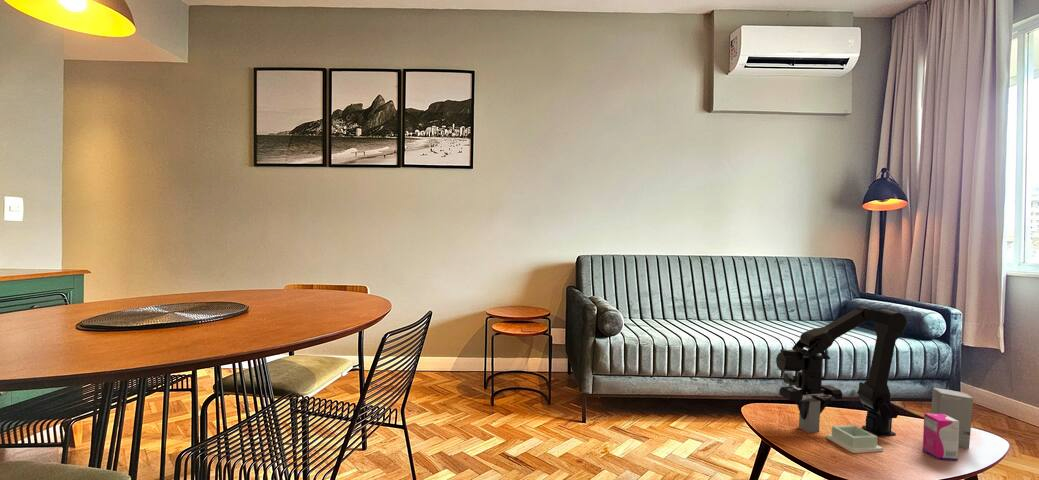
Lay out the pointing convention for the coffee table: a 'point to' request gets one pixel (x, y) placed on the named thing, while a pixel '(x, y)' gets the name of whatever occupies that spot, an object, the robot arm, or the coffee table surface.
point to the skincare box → (955, 411)
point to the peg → (811, 416)
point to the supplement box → (941, 436)
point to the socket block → (854, 439)
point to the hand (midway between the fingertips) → (809, 418)
